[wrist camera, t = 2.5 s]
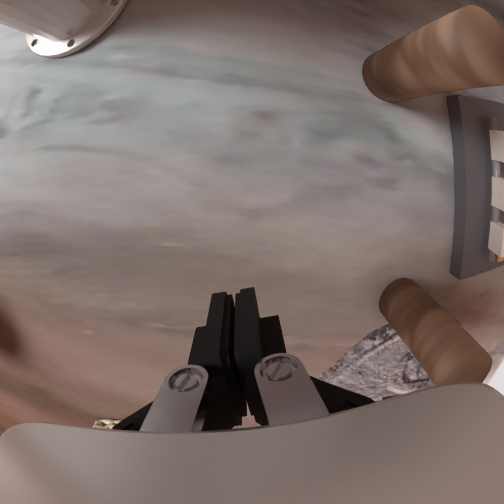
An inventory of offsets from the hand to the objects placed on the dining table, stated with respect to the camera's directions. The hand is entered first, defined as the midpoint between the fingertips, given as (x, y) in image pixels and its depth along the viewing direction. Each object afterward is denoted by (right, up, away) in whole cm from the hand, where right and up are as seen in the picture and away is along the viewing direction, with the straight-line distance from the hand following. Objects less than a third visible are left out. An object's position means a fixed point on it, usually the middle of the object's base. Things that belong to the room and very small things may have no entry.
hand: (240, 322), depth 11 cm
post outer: (+17, -2, +17) cm, 24 cm away
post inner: (+13, +19, +10) cm, 25 cm away
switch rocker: (+27, +9, +11) cm, 30 cm away
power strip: (+26, +10, +13) cm, 31 cm away
